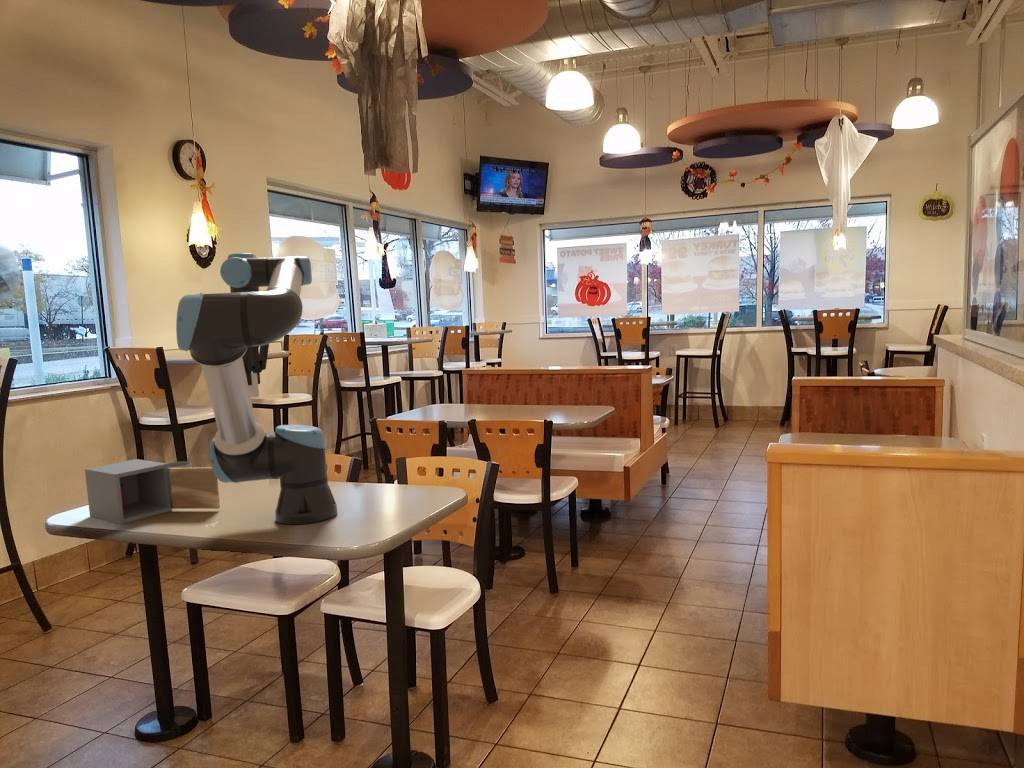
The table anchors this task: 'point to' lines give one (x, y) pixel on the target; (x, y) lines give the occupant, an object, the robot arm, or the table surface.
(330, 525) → the table surface
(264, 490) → the table surface
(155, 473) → the grey open box
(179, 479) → the wooden cabinet door
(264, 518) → the table surface
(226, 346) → the robot arm
